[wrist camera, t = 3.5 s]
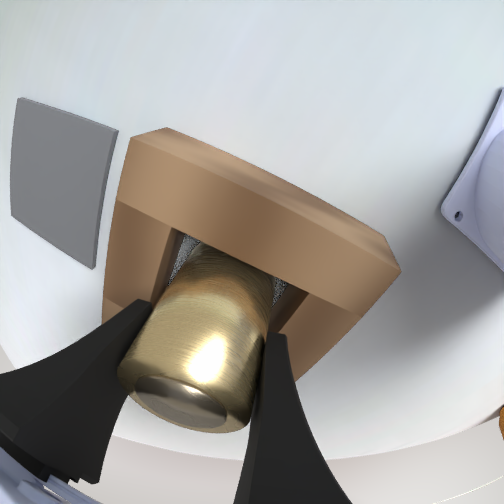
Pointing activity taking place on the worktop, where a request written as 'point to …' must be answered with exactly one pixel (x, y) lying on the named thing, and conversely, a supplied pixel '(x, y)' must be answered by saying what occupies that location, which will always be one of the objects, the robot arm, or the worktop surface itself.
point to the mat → (60, 176)
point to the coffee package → (501, 421)
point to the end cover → (203, 344)
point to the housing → (242, 239)
